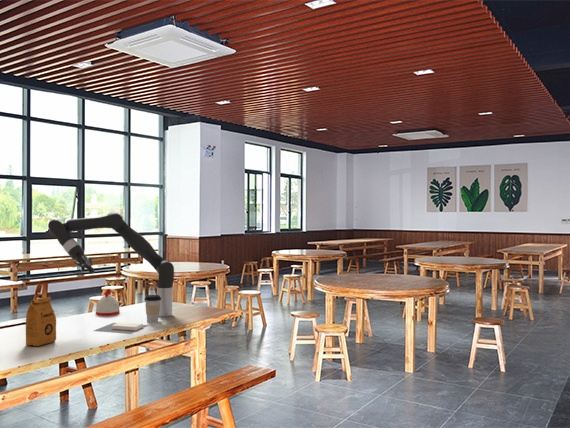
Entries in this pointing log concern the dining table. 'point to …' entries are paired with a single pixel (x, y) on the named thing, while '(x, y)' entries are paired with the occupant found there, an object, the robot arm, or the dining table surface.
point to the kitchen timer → (107, 305)
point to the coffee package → (40, 323)
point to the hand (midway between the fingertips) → (93, 272)
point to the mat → (109, 329)
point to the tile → (127, 326)
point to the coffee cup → (152, 307)
